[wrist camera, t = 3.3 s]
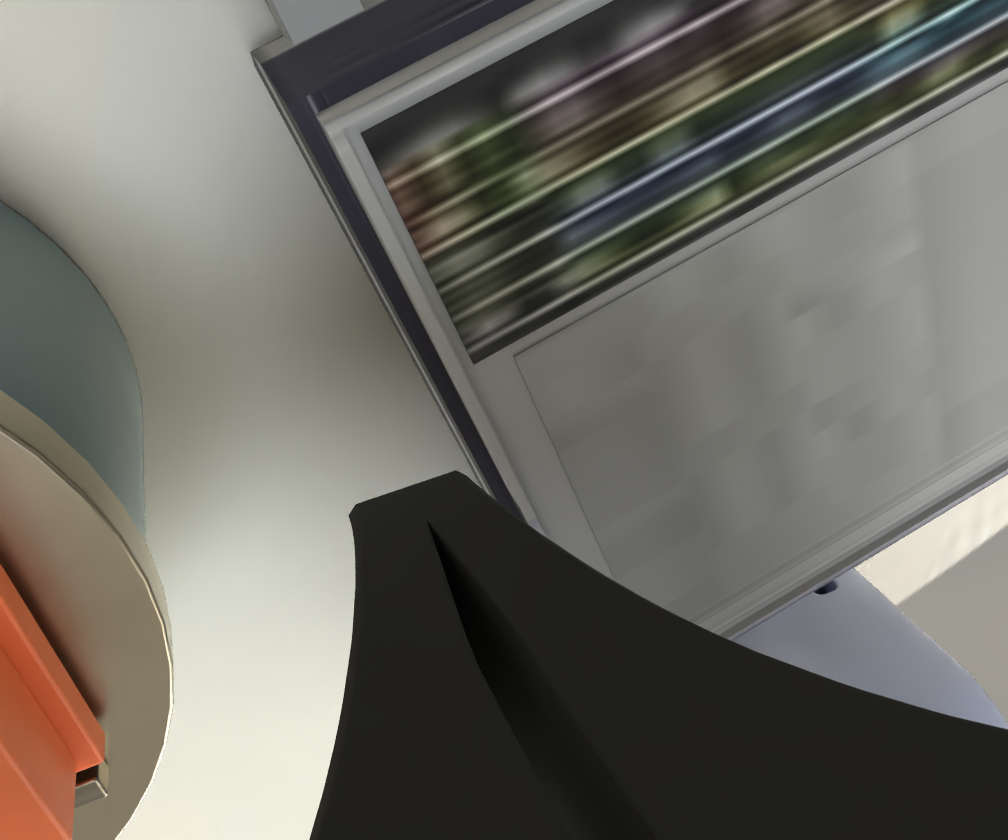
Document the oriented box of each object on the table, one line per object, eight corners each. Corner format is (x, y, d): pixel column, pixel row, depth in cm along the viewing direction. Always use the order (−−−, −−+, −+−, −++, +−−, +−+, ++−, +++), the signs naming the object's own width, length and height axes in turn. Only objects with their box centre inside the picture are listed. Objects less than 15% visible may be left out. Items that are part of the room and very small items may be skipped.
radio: (635, 756, 20) (91, -275, 9) (546, 609, 25) (104, -214, 13) (1455, 255, 22) (1872, -1101, 11) (1241, 200, 27) (1383, -817, 15)
